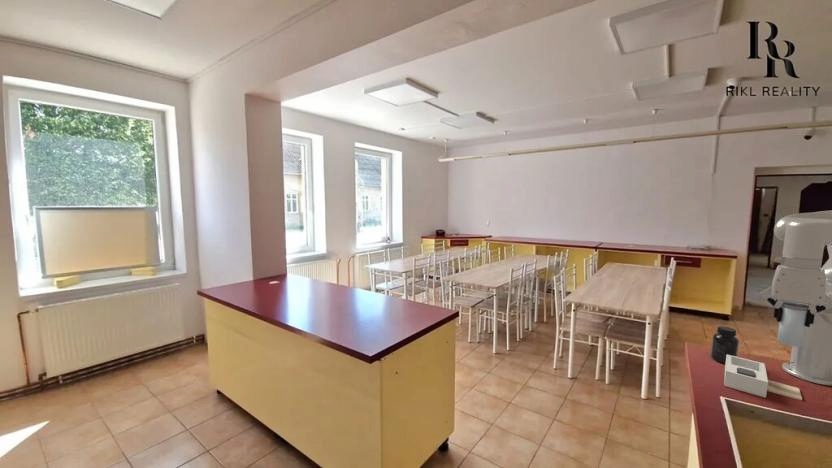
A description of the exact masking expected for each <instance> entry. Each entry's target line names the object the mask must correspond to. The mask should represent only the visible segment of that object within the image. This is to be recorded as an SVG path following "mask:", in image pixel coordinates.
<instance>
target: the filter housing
mask: <svg viewBox="0 0 832 468" xmlns="http://www.w3.org/2000/svg"><path fill="white" fill-rule="evenodd" d="M738 367H740V368H743V369H747V370H751V371H754V377H750V376H746V375H742V374H739V373H738ZM768 380H769V379H768V375H767V370H766V364H765V362H759V361H755V360H751V359H748V358H743V357H740V356H737V357H735V356H731V355H727V354H726V363H725V364H724V380H723V381H724V382H723V384H724V387H728V388H731V389H733V390H737V391H741V392H744V393H748V394H751V395H754V396H758V397H762V398H765V399H766V398H767V394H768V393H767V392H768V391H767V386H768Z"/></svg>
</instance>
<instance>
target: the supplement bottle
mask: <svg viewBox="0 0 832 468" xmlns="http://www.w3.org/2000/svg"><path fill="white" fill-rule="evenodd" d="M736 336H737V330H736V329H735V328H732V327H730V326H724V325H723V326H722V325H720V326H717V329H716V333H714V334H713V335H712V342H711V354H710V357H711V359H712V360H713V361H714V362H715V361H716V362H718V363H720V364H724V365H725V363H726V354H727V355H731V356H735V357H738V353H739V344H740V340H739V339H738V338H737V337H736Z"/></svg>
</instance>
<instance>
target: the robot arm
mask: <svg viewBox="0 0 832 468" xmlns="http://www.w3.org/2000/svg"><path fill="white" fill-rule="evenodd" d="M773 233H774V236H775V237H776V238H777V239H778V240H780V241H783V248H782V255H781V256H777V257H776V256H775V257H774V259H773V261H774V262H777V263H779V264H778V265H777V267H776V268H775V271H774V274H773V278H772V282H771V285H770V286H769V287H767V288H765V289H763V290H762V291H760V292H759V296H761V297H762V298H763V299H764V300H766V301H767V302H768V303H769V304H770V305H771V306H773V307H774V308H773V309H774V310H773V318H774V319H775V320H776V322H777V323H780V322H781V316H782V309H781V308H782V304H783V302H795V303H800V304H804V305H807V306H808V311H807V317H806V324H805V331H804V338H803V344H802V347H794V346H791V353H790V359H789V361H784V362H783V363H782V365H781V366H782V367H781V368H782V369H783V370H784V371H785V372H786V373H788V374H790V375H792V376H794V377H796V378H798V379H800V380H804V381H807V382H809V383H810V382H811V383H815V384H818V385H823V386H832V210H823V211H822V210H821V211H815V212H814V211H813V212H799V213H793V214H788V215H785V216H784V217H782V218H780V219H778V220H777V222H776V223H775V225H774V228H773ZM825 246H827V253H828V259H827V261H825V263H824V264H823V265H822V263H823V257H824V250H825ZM770 294H771V296H770ZM789 362H790V364H789ZM791 362H794V363H791ZM803 364H804V365H803ZM815 366H818V367H815Z"/></svg>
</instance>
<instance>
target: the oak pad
mask: <svg viewBox="0 0 832 468" xmlns="http://www.w3.org/2000/svg"><path fill="white" fill-rule="evenodd" d="M767 392H770V393H773V394H776V395H781V396H784V397H787V398H791V399H794V400H797V401H803V397H802V394H801V390H800V388H799V387H796V386H792V385H788V384H784V383H781V382H778V381H773V380H769V379H768V386H767Z"/></svg>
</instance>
